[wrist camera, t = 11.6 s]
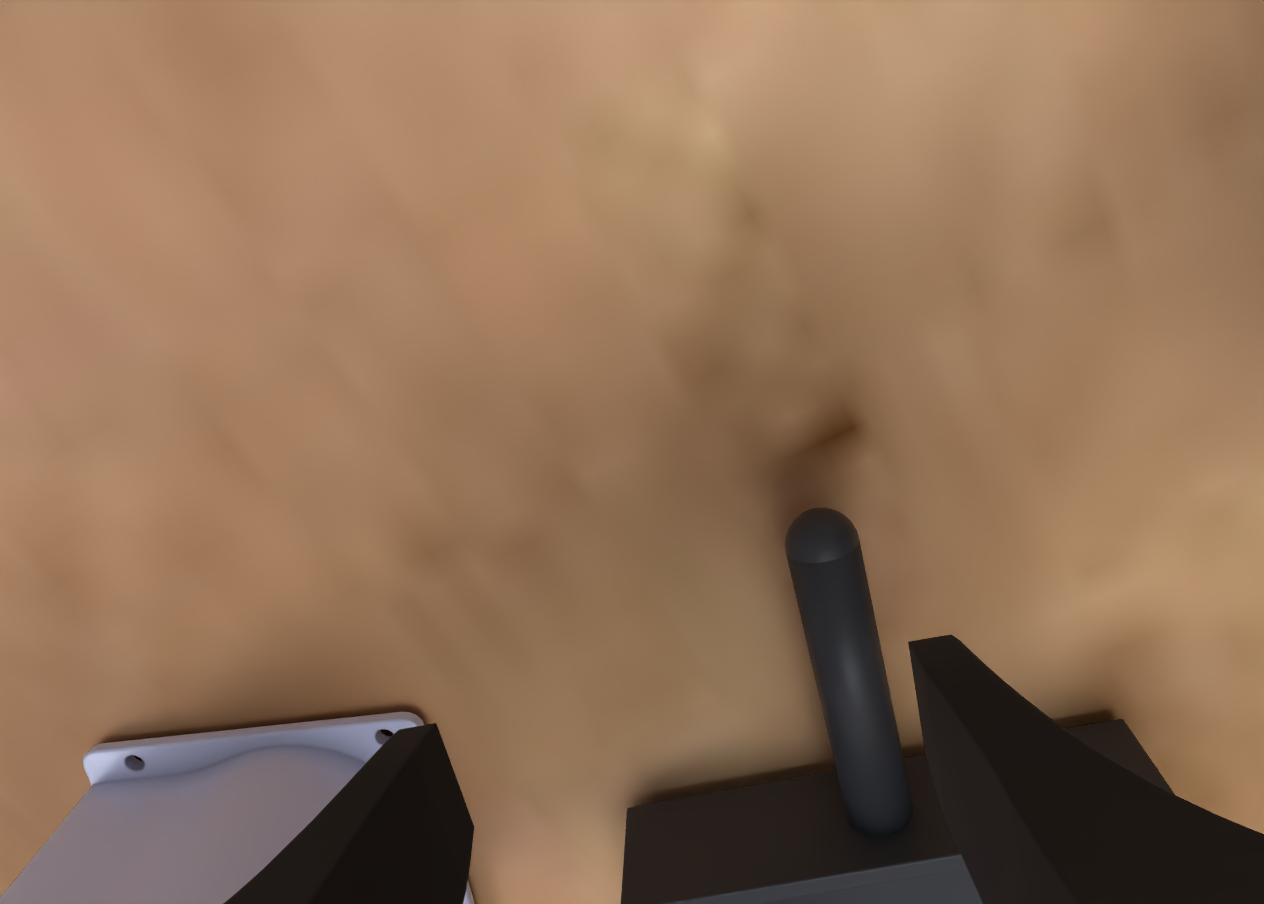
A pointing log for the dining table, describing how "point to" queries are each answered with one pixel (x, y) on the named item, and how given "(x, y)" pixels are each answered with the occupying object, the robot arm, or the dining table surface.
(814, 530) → the scoop pan
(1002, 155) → the dining table surface
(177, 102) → the dining table surface
